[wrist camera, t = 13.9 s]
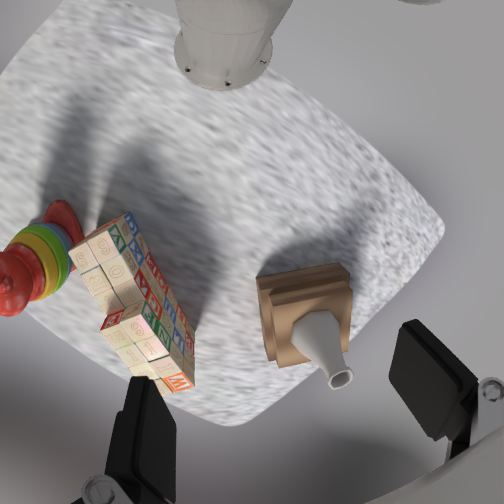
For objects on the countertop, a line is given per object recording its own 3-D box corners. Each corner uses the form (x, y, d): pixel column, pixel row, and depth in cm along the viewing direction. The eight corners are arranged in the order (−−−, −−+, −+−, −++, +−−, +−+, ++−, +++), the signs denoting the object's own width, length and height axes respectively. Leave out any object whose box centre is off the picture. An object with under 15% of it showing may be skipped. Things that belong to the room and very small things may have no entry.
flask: (334, 301, 37) (368, 345, 27) (340, 339, 39) (370, 385, 30) (283, 320, 37) (306, 372, 27) (295, 357, 39) (316, 408, 30)
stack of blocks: (94, 228, 36) (55, 261, 24) (130, 210, 36) (98, 236, 24) (162, 344, 44) (153, 399, 32) (196, 332, 44) (195, 388, 32)
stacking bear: (62, 193, 33) (-17, 227, 16) (100, 249, 37) (42, 314, 20) (23, 235, 34) (-48, 283, 17) (58, 285, 37) (2, 352, 21)
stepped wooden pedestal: (255, 277, 42) (264, 301, 35) (338, 262, 43) (359, 281, 36) (264, 346, 46) (272, 374, 40) (336, 330, 47) (352, 354, 41)
